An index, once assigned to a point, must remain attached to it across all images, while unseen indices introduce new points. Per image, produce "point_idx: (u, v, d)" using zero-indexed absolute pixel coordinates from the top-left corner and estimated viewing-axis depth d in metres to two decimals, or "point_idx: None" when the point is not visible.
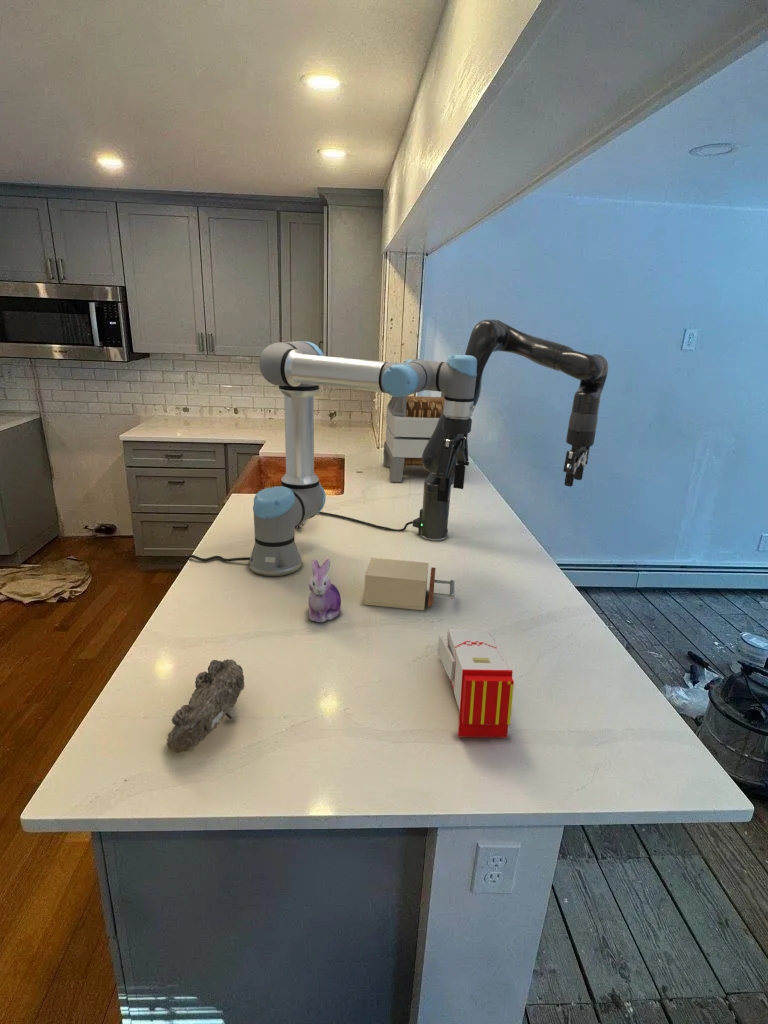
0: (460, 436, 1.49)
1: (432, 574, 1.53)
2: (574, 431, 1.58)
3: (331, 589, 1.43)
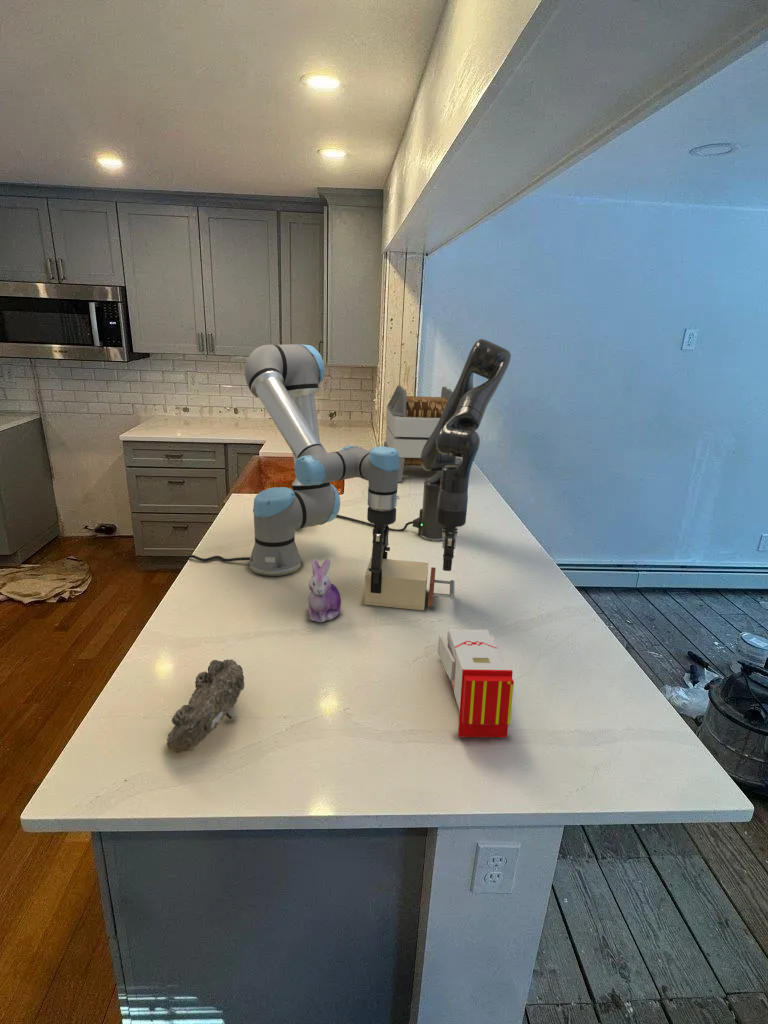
0: None
1: (432, 574, 1.53)
2: None
3: (331, 589, 1.43)
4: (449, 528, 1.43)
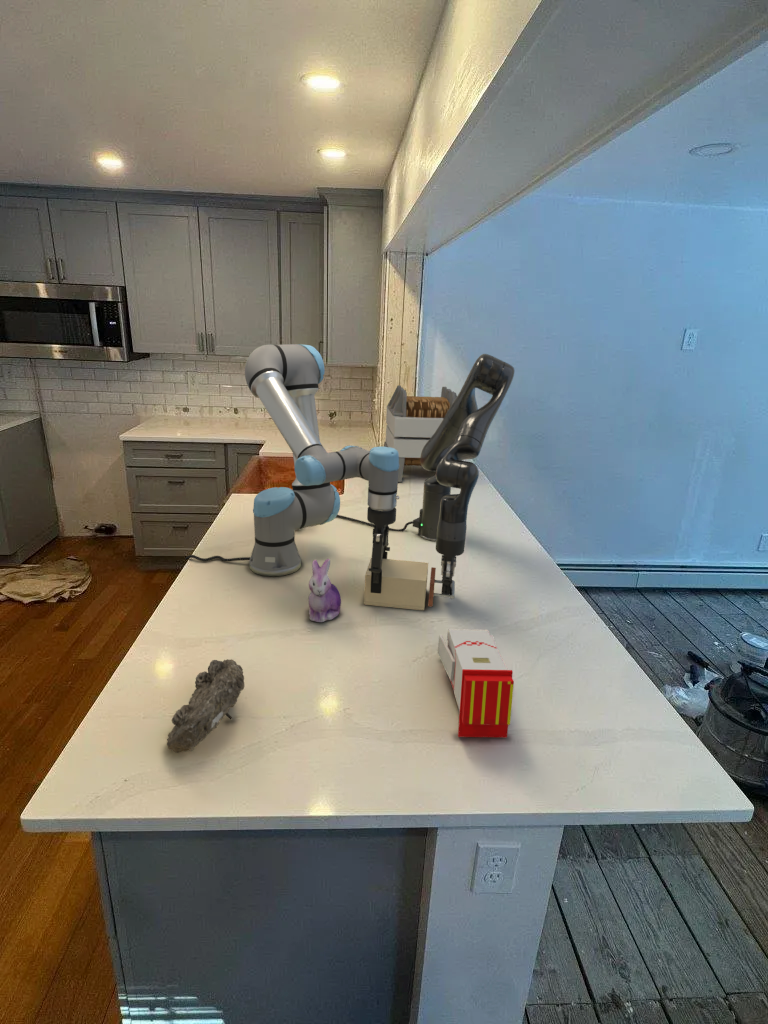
0: None
1: (432, 574, 1.53)
2: None
3: (331, 589, 1.43)
4: (448, 557, 1.46)
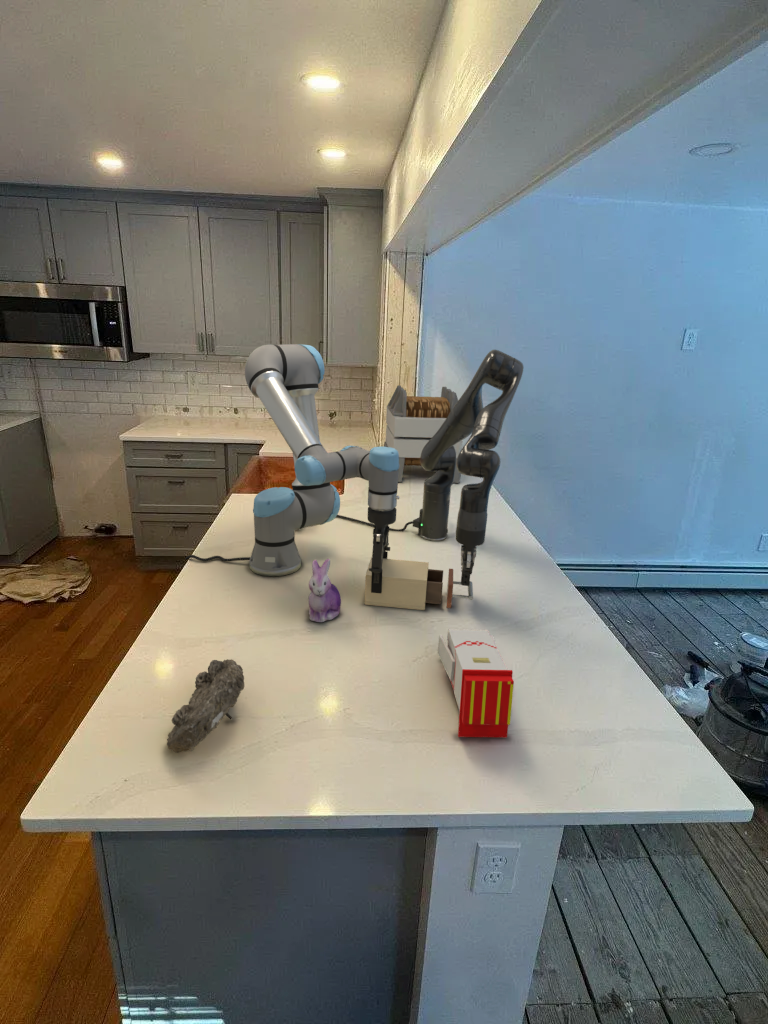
0: None
1: (450, 575, 1.52)
2: None
3: (331, 589, 1.43)
4: (469, 548, 1.44)
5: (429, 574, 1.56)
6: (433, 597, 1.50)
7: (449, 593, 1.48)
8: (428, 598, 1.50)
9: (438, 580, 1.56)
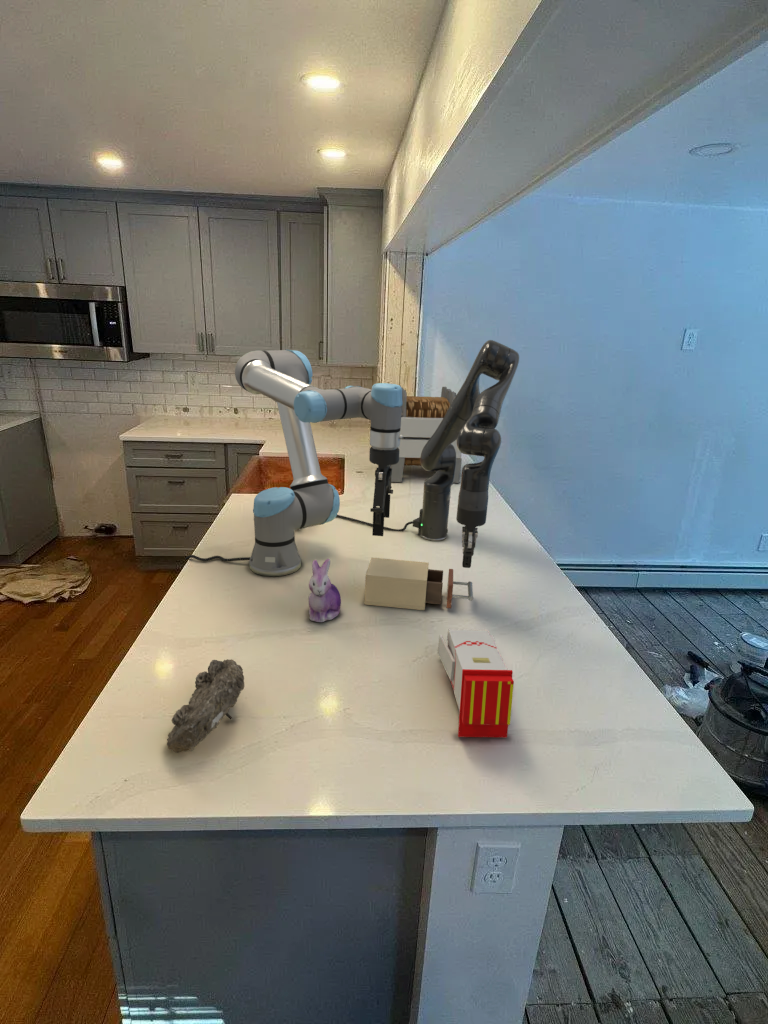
0: (388, 466, 1.44)
1: (450, 575, 1.52)
2: None
3: (331, 589, 1.43)
4: (470, 528, 1.43)
5: (429, 574, 1.56)
6: (433, 597, 1.50)
7: (449, 593, 1.48)
8: (428, 598, 1.50)
9: (438, 580, 1.56)
